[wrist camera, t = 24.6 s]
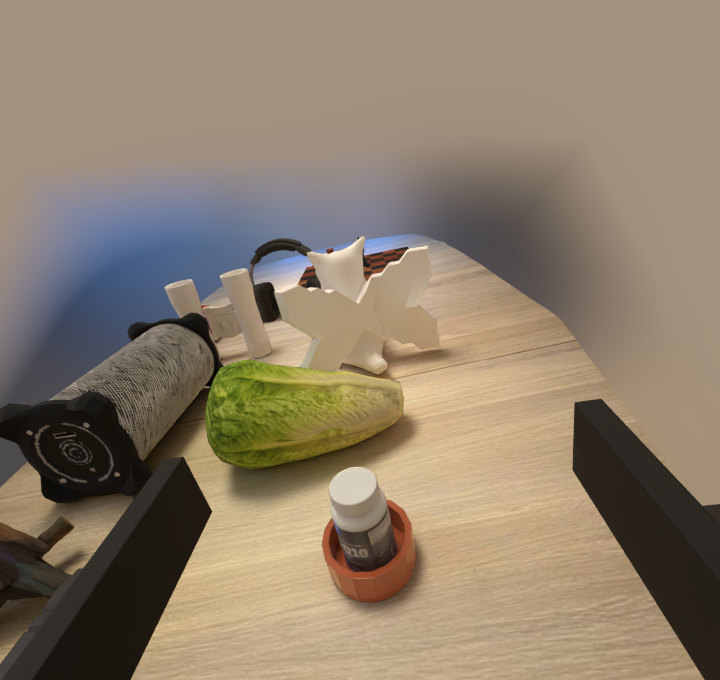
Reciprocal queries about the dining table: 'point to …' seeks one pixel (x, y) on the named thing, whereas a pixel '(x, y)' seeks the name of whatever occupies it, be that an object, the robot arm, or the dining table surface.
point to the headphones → (266, 290)
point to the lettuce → (294, 412)
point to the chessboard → (364, 263)
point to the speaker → (115, 411)
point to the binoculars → (226, 311)
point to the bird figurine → (29, 562)
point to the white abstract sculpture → (360, 308)
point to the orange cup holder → (381, 579)
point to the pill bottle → (362, 519)
